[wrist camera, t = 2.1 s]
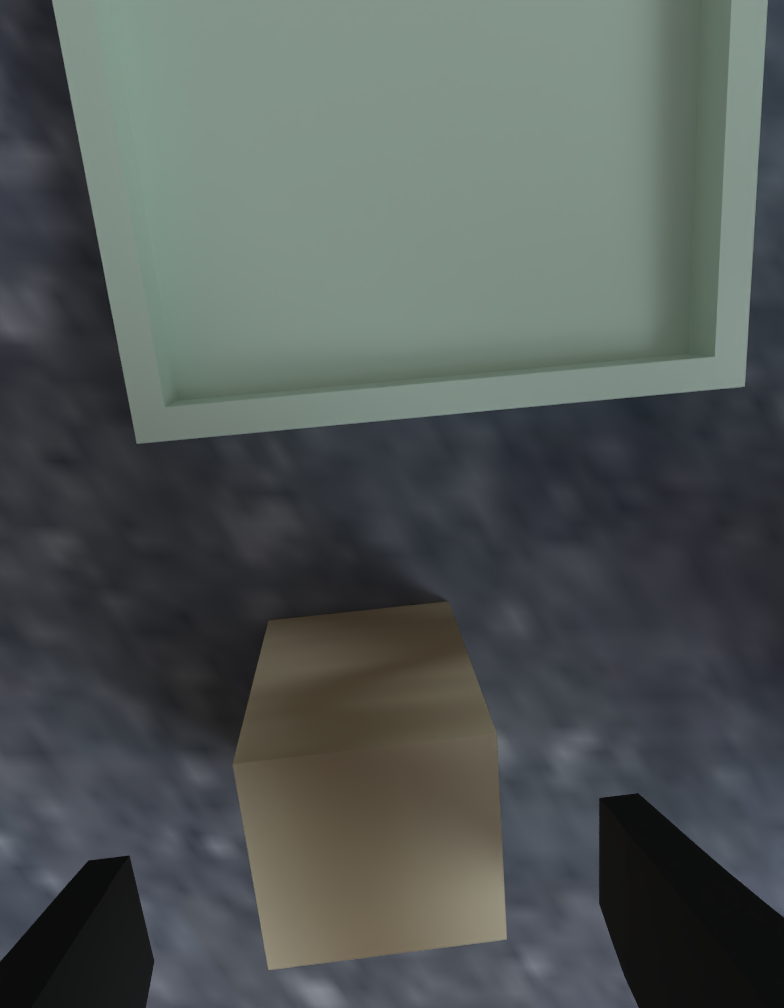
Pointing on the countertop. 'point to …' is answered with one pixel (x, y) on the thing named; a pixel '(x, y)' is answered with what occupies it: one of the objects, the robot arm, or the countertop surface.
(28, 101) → the countertop surface
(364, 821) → the beech block
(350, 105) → the tray
